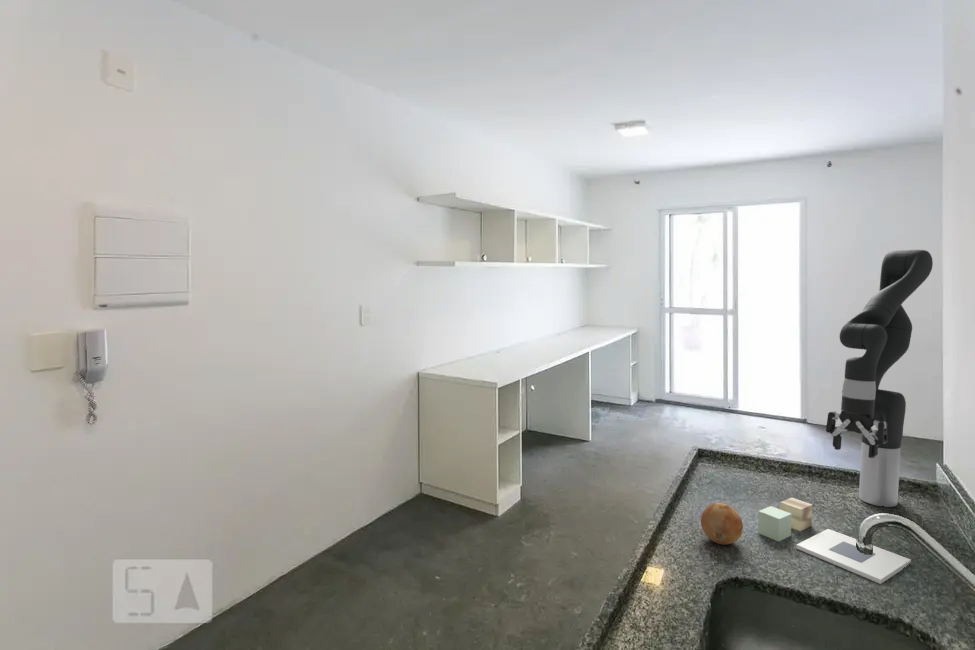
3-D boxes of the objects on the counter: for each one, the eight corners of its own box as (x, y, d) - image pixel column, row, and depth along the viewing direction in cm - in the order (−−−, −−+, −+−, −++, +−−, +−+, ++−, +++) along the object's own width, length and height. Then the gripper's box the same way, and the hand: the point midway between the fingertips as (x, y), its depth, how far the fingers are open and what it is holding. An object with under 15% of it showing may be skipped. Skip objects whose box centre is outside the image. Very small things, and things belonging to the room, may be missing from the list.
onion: (739, 535, 137) (740, 498, 136) (744, 554, 128) (745, 514, 127) (699, 530, 140) (700, 493, 140) (701, 548, 131) (702, 509, 130)
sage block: (770, 527, 141) (770, 506, 141) (790, 536, 137) (791, 513, 136) (757, 533, 139) (758, 511, 138) (778, 541, 134) (779, 519, 133)
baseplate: (827, 532, 138) (828, 528, 138) (910, 563, 123) (910, 559, 123) (796, 548, 130) (796, 544, 130) (880, 583, 115) (880, 579, 115)
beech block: (790, 518, 147) (791, 497, 146) (811, 526, 142) (812, 504, 141) (779, 523, 144) (780, 502, 143) (800, 531, 139) (801, 509, 139)
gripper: (894, 399, 142) (890, 458, 143) (837, 390, 154) (833, 445, 155) (882, 401, 138) (877, 462, 139) (824, 392, 150) (820, 448, 151)
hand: (854, 453), depth 147 cm, fingers open, 8 cm apart
